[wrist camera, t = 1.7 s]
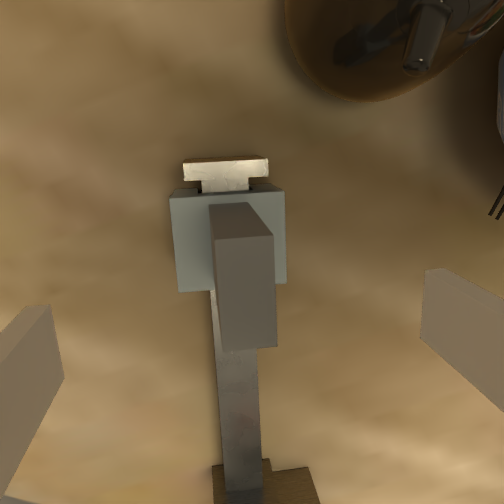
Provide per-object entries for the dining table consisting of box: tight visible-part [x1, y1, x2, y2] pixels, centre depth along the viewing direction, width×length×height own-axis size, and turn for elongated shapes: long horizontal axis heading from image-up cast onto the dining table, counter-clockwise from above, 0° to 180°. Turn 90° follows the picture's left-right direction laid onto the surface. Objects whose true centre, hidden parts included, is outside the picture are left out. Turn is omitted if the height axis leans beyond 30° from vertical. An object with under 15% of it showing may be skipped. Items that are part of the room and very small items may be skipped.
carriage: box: [169, 183, 287, 352], centre depth 24 cm, size 7×6×14 cm
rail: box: [183, 155, 279, 504], centre depth 31 cm, size 5×27×5 cm, turn 3°
